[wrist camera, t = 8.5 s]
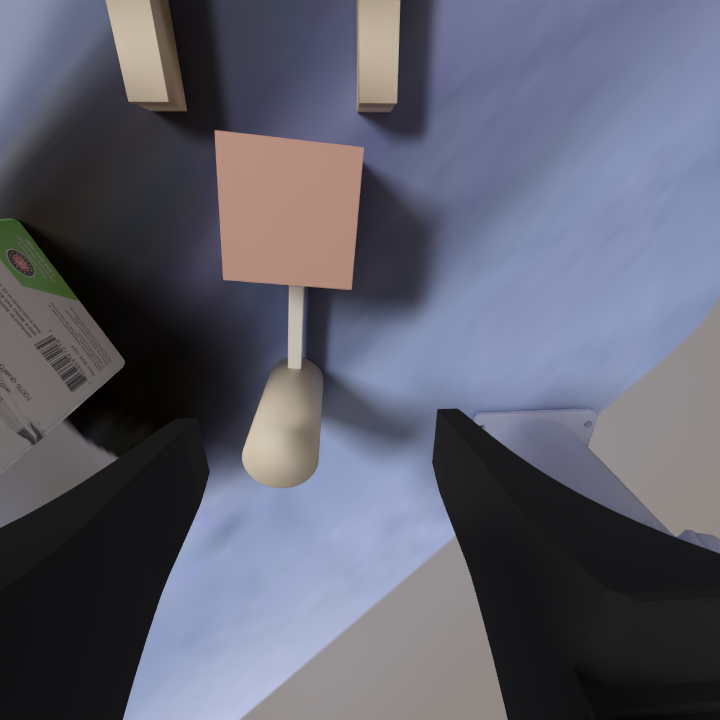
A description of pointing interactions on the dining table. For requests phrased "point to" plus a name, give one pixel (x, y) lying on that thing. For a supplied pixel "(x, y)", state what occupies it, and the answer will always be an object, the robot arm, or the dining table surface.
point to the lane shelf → (162, 71)
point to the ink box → (42, 346)
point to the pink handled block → (287, 272)
